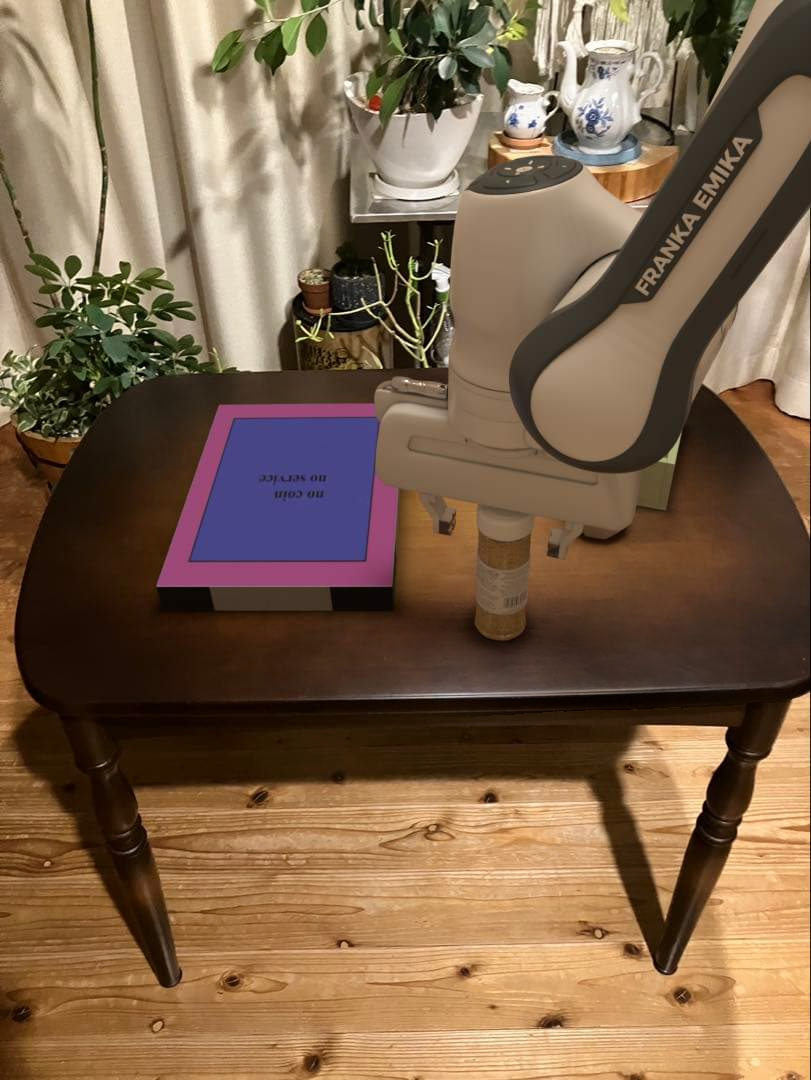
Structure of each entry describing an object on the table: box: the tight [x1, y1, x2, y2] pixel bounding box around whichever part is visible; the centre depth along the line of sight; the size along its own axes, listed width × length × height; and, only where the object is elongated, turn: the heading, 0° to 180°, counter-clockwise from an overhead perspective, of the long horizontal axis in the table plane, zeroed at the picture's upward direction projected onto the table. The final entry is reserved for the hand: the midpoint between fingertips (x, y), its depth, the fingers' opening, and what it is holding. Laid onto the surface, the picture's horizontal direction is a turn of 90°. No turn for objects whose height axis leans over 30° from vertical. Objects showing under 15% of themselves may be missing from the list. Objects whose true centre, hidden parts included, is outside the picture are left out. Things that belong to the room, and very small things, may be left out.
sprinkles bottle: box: [474, 504, 536, 642], centre depth 76 cm, size 5×5×14 cm
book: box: [156, 402, 402, 612], centre depth 93 cm, size 21×3×30 cm
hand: (500, 541), depth 74 cm, fingers open, 8 cm apart
